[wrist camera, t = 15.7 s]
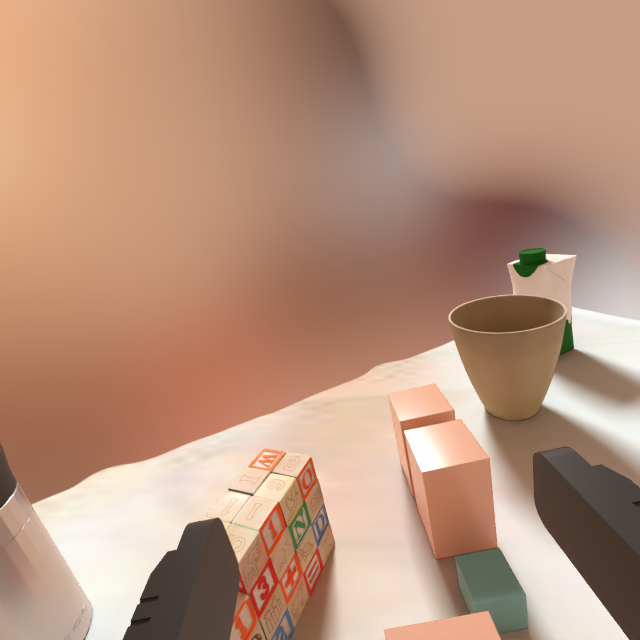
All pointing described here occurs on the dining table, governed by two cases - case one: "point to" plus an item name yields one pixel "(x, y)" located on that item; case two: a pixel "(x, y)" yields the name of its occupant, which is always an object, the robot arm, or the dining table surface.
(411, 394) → the peach rectangular block
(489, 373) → the plant pot
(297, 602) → the stack of blocks
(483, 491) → the salmon rectangular block
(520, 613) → the green cube
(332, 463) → the dining table surface
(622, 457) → the dining table surface
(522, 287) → the milk carton
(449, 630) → the salmon pink rectangular block
